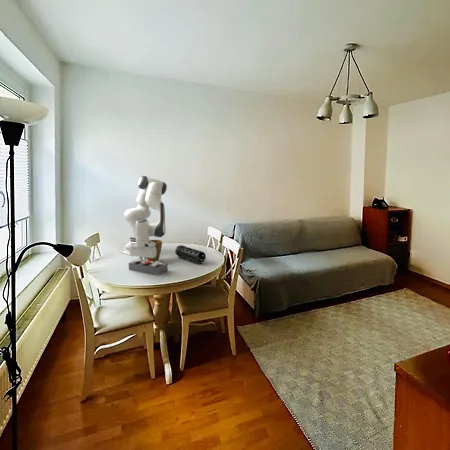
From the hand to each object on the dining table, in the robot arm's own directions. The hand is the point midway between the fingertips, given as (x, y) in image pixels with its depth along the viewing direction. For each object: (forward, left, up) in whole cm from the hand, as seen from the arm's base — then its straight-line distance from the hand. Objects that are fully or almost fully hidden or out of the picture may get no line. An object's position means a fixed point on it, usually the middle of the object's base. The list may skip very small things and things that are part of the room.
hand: (143, 262), depth 204 cm
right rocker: (+8, +4, -1) cm, 9 cm away
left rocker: (-8, +4, -1) cm, 9 cm away
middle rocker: (0, +4, -1) cm, 4 cm away
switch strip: (0, +5, -7) cm, 9 cm away
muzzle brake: (+14, +38, -7) cm, 41 cm away
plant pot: (-10, +23, -7) cm, 26 cm away
